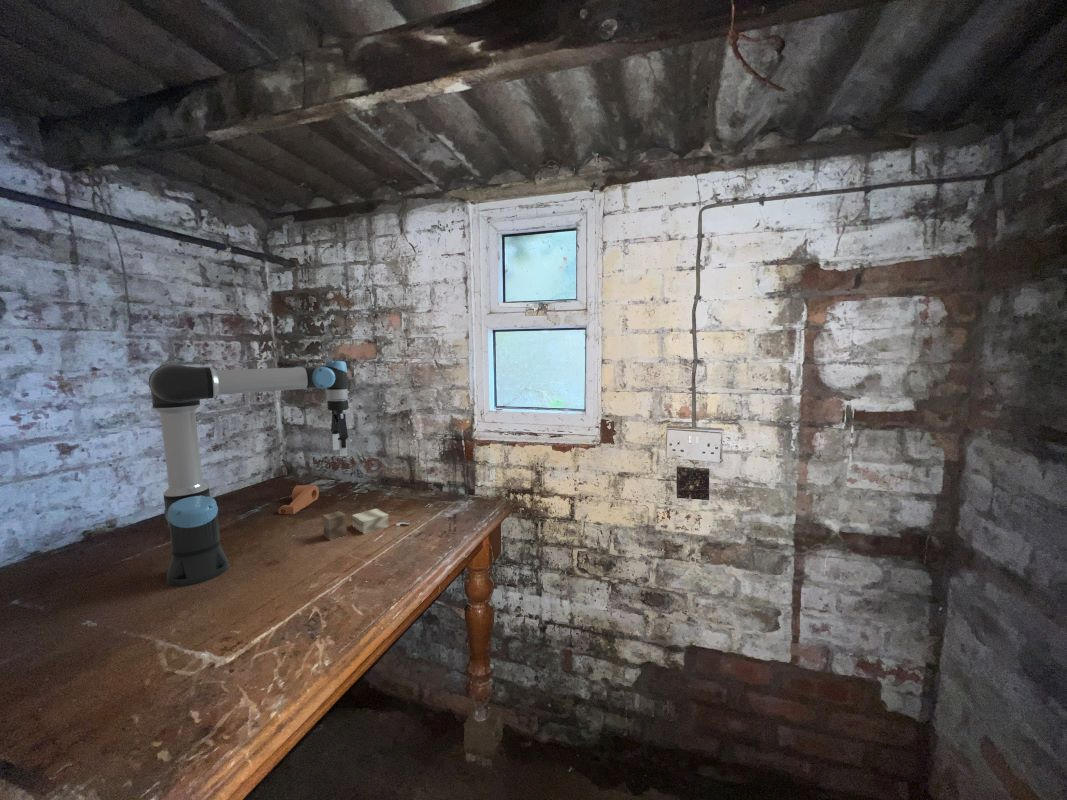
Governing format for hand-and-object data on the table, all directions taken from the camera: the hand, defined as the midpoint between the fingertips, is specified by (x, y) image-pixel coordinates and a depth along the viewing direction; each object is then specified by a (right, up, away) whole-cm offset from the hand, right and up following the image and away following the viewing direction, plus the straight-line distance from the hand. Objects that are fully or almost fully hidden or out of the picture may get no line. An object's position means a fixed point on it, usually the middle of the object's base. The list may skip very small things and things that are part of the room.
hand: (340, 452), depth 172 cm
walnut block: (+4, -29, -13) cm, 32 cm away
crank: (-26, -27, +18) cm, 41 cm away
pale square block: (+14, -29, -5) cm, 32 cm away
